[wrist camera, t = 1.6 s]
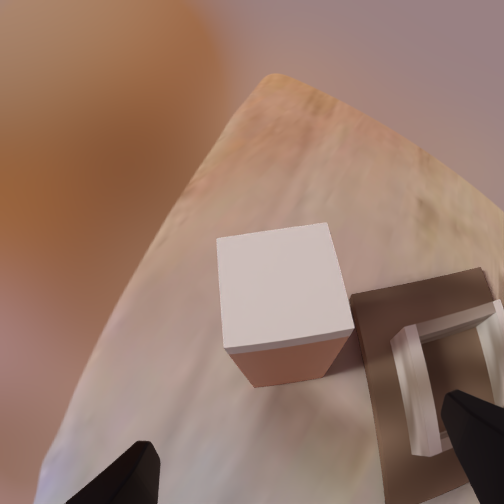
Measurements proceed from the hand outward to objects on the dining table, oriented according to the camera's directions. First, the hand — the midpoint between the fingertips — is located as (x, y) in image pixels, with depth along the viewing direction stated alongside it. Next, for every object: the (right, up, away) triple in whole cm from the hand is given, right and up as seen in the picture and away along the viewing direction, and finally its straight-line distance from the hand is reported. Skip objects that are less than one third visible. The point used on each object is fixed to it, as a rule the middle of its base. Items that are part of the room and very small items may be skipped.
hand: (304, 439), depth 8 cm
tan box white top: (+1, -1, +13) cm, 14 cm away
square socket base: (+12, -4, +10) cm, 17 cm away
